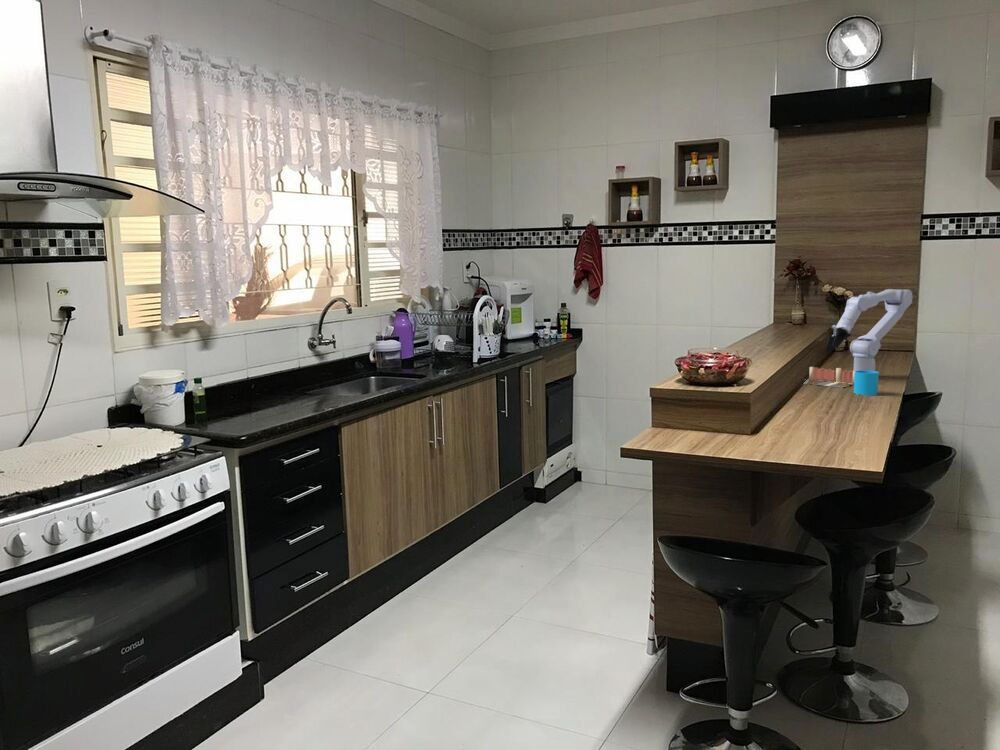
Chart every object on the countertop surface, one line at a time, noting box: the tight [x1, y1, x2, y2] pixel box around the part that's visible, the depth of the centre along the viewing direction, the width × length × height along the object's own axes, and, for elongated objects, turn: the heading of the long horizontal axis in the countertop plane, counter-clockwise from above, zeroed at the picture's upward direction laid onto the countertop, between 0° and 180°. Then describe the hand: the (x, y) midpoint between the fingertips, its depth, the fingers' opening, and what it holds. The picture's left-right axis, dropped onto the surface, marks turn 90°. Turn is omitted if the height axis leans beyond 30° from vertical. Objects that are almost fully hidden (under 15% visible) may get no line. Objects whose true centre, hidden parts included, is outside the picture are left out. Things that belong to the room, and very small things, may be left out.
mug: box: [853, 370, 880, 396], centre depth 303 cm, size 12×8×8 cm
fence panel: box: [808, 366, 836, 381], centre depth 331 cm, size 10×2×5 cm, turn 46°
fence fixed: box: [835, 367, 855, 384], centre depth 324 cm, size 8×2×6 cm, turn 46°
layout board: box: [802, 378, 852, 389], centre depth 329 cm, size 23×20×1 cm
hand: (831, 349), depth 329 cm, fingers open, 7 cm apart
